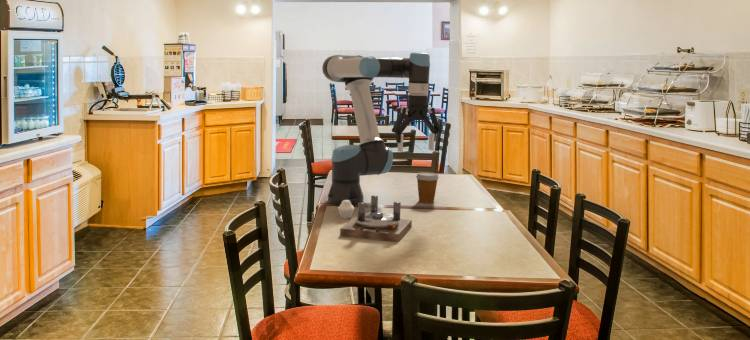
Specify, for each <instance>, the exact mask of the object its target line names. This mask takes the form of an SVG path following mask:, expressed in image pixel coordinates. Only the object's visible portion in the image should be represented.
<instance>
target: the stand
mask: <svg viewBox="0 0 750 340" xmlns="http://www.w3.org/2000/svg"><path fill="white" fill-rule="evenodd" d="M355 221H356V216H355V217H354V218H352V219H351V220H350V221H348V222H347V223H346V224H344V225H343V226H342V227H340V229H339V236H340V237H346V238H359V239H367V240H375V241H377V240H378V241H386V242H396V243H397V242H398V243H399V242H400V240H401V239H402V238H403V237H404V236H405V235H406V234H407V233H408V232H409V230H410V229H411V228H412V227H413V226H412V225H413V224H412V223H413V220H412V219H403V218H400V220H399V225H398V226H397V227H395V228H388V229H379V228H377V229H370V228H364V227H360V226H358V225H356V223H355Z"/></svg>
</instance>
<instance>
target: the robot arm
mask: <svg viewBox="0 0 750 340" xmlns="http://www.w3.org/2000/svg"><path fill="white" fill-rule="evenodd" d="M430 56H431V55H430V54H429V53H426V52H411V53H410V54H409V57H383V56H381V57H380V56H364V55H343V54H342V55H341V54H334V55H330V56H329V57H327V58H326V59H324V61H323V63H322V69H321V70H322V73H323V75H324V77H325V78H326V79H327V80H329V81H331V82H335V83H344V85H345V88H346V90H348V91H349V93H350V97H351V102H352V108H353V112H354V116H355V123H356V126H357V131H358V135H359V136H358V137H359V141H360V142H359V144H345V145H340V146H337V147H335V148H334V149H333V150H332V155H331V185H330V187H329V191H328V192H327V193H328V194H327V203H329V204H332V205H339V206H340V205H341V203H342V201H343V200H349V201H351V204H352V206H355V205H358V203H359V202H364V200H365V199H364V194H363V191H362V187H361V183H360V181H361V176H373V175H374V176H375V175H377V176H379V175H383V174H387V173H388V172H389V171H390V170H391V168H392V165H393V162H394V153H393V150H392V149H391V148H390V146H386V144H385V140H384V139H382V138H381V135H380V133H379V127H378V123H377V117H376V113H375V109H374V103H373V98H372V94H371V90H370V87H371V85H372V83H373V80H374V78H394V79H395V78H396V79H398V78H399V79H400V78H401V79H405V78H406V79H408V87H407V88H408V92H407V93H408V94H409V95H408V96H407V105H408V106H407V108H406V107H400V109H399V114H398V116H397V118H396V120H395V122H394V124H393V127H392V128H391V132H392V133H394V134H396V135H395V136H396V137H395V142H396V143H397V152H401V153H403V152H404V134H403V132H404V131H405V129H406V128H407V127H408V125H410V123H411V122H412V121H414V120H415V121H417V120H420V121H421V120H422V121H423V122H424V124H425V125H426V127H427V129H428V130H429V131H430V132H429V133H428V134H429V135H428V151H434V150H435V142H436V140H437V134H439V133H440V132H441V131H442V128H441V126H440V124H439V121H438V118H437V115H436V109H435V107H431V106H430V107H428V105H429V96H428V94H429V86H430V85H429V84H430V83H429V81H430V71H431V70H430V67H431V63H430V62H431V61H430V60H431V59H430V58H431V57H430ZM427 113H428V114H429V116H428V115H427ZM406 114H407V115H406ZM429 117H430V119H429ZM404 118H405V119H404Z"/></svg>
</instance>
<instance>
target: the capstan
mask: <svg viewBox="0 0 750 340" xmlns="http://www.w3.org/2000/svg"><path fill="white" fill-rule="evenodd" d="M378 201H379V195H371V196H370V212H366V202H364V201H363V202H359V203H358V204H357V215H355V217H356V221H355V223H356V225H358V226H360V227H364V228H370V229H377V228H379V229H388V228H395V227H397V226H398V225H399V220H400V219H401V208H402V207H401V206H402V205H401V204H402V202H399V201H394V202H393V207H392V208H393V212H392V213H386V212H382V211H378V209H379V208H378V206H379V202H378Z"/></svg>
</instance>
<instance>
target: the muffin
mask: <svg viewBox="0 0 750 340" xmlns="http://www.w3.org/2000/svg"><path fill="white" fill-rule="evenodd" d="M337 210H338V213H339V215H340V217H341V218H342V219H344V220H345V219H347V220H348V219H351V217H352V215H353V214H354V211H355V207H354V205H352V204H351V201H349V200H343V201H342V203H341V205H339V206H338V207H337Z"/></svg>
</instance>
